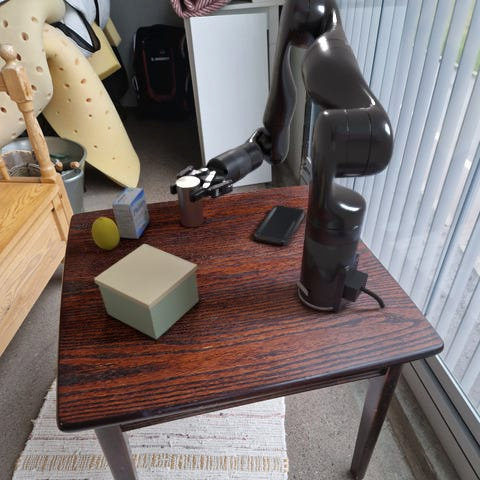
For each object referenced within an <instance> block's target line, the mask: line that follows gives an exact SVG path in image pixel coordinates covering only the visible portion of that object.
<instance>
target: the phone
mask: <svg viewBox="0 0 480 480" xmlns="http://www.w3.org/2000/svg"><path fill="white" fill-rule="evenodd" d="M304 217H305V210H304V209H302V208H297V207H294V206H293V207H292V206H287V205H283V204H275V205H273V206H272V208H271V209H270V210H269V212H268V214H267V215H266V216H265V217H264V219H263V220H262V222H261V223H260V225H259V226H258V227H257V228H256V230H255V231H254V233H253V239H254V240H255V241H257V242H262V243H266V244H270V245H275V246H281V247H284V246H285V247H286V246H287V245H288V244H289V242H290V240H291V238H292V237H293V235H295V233H296V231H297V229H298V227H299V225H300V224H301V222H302V220H303V218H304Z"/></svg>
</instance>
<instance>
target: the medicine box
mask: <svg viewBox="0 0 480 480" xmlns="http://www.w3.org/2000/svg"><path fill="white" fill-rule="evenodd" d="M111 206H112V210H113V214H114V218H115V222H116V226H117V228H118V230H119V235H120V238H123V239H134V240H135V239H137V240H139V238H140V237H141V235H142V234H143V232H144V231H145V229H146V228H147V227H148V225H149V224H150V221H151V220H150V214H149V209H148V205H147V199H146V194H145V190H144V188H142V187H133V186H132V187H131V186H130V187H126V188H125V189H124V190H123V191H122V192H121V193H120V194H119V195H118V197H116V199H115V200H114V201H113V202H112V203H111Z"/></svg>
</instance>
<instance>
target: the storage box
mask: <svg viewBox="0 0 480 480" xmlns="http://www.w3.org/2000/svg"><path fill="white" fill-rule="evenodd" d="M197 271H198V265H197V263H193V262H191V261H190V260H189V261H188V260H186V259H183V258H181V257H179V256H176V255H174V254H171V253H169V252H167V251H164V250H162V249H159V248H156V247H154V246H151V245H149V244H147V243H143V244H141V245H140V246H139V247H137V248H135V249H134V250H133V251H131V252H129V254H127V255H126V256H123V258H121V259H120V260H118V261H117V262H116V263H114V264H113V265H111V266H110V267H108V268H107V269H105V270H104V271H102V272H101V273H100V274H98V275H97V276H95V277H94V278H93V281H94V284H96V285H98V288H99V291H100V294H101V297H102V301H103V303H104V306H105V310H106V314H107V315H109V316H111V317H112V318H114V319H117V320H118V321H120V322H122V323H124V324H126V325H128V326H129V327H131V328H134V329H135V330H138V332H141V333H143V334H145V335H146V336H149V337H151V338H152V339H154V340H158V339H159V338H160V337H161V336H162V335H163V334H164V333H166V332H167V331H168V330H169V329H170V328H171V327H173V325H174V324H175V323H176V322H178V321H179V320H180V319H181V318H182V317H183V316H184V315H185V314H186V313H187V312H189V311H190V310H191V309H192V308H193V307H194V306H195V305H197V303H199V300H200V299H199V291H198V282H197V273H196V272H197Z"/></svg>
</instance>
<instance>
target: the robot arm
mask: <svg viewBox="0 0 480 480" xmlns="http://www.w3.org/2000/svg"><path fill="white" fill-rule="evenodd" d="M342 21H343V20H342V15H341V12H340V8H339V4H338V3H337V1H336V0H284V2H283V5H282V9H281V13H280V18H279V24H278V29H277V37H276V42H275V50H274V56H273V62H272V71H271V80H270V85H269V86H270V87H269V91H268V96H267V100H266V104H265V106H264V108H265V109H264V111H263V116H262V125H263V126H261V127H257V128H256V129H255V130H254V131H253V133H252V134H251V135H250V136H249V137H248V139H246V141H245V142H244V143H242V144H240V145H238V146H236V147H234V148H229V149H227V150H225V151H223V152H222V153H220V154H218V155H216V156H214V157H212V158H210V159H209V160H207V161H208V162H207V163H206V164H205V166H204V167H202V168H199V169H197V170H196V169H194V166H193V165H188V166H187V167H186V168H184V169H182V170H181V171H180V172H179V173H176V181H177V180H178V179H180V178H182V177H188V176H191V177H196V178H198V179H199V180H200V186H201V187H200V188H198V189H196V190H194V191H192V192H191V193H190V194H189V198H190V202H192V203H194V202H196V201H198V200H200V199H202V200H203V199H204V198H205V199H207V198H209V197H210V198H211V199H212V200H215V199H218V198H220V197H223V196H225V195H228V194H230V193H232V192H233V191H234V184H237V183H238V182H239V181H240V180H241V181H242V180H243V179H244V178H245V177H247V176H248V175H249V174H252V173H253V172H254V171H256V170H258V169H259V168H260V167H262V165H263V163H264V162H265V163H267V164H268V165H270V166H273V167H276V166H279V165H281V164H282V163H283V162H284V161H285V159H286V158H287V156H288V153H289V150H290V132H291V127H290V126H291V122H292V120H293V118H294V117H293V116H294V113H295V111H296V107H297V103H298V90H297V86H296V83H295V80H294V76H293V73H292V68H291V63H290V55H291V54H290V53H291V48H292V47H293V48H298V49H303V50H305V51H304V54H303V56H302V60H301V63H300V64H301V65H300V73H301V78H302V82H303V86H304V90H305V92H306V95H307V97H308V99H309V100H310V102H311V103H312V104H313V105H314V106H315V107H316V108H317V109H319V110H320V112H319V113H318V114H317V115H316V118H315V120H314V123H313V127H312V134H311V147H310V168H309V170H310V171H309V182H308V184H309V185H308V194H307V207H306V216H305V217H306V219H305V227H304V237H303V246H302V256H301V263H300V273H299V279H296V285H297V286H298V289H297V296H298V297H297V298H298V299H299V301H300V302H301V303H302V304H303V305H304V306H305V307H307V308H309V309H311V310H314V311H318V312H334V313H336V314H337V313H340V311H341V310H342V309H343V307H344V306H345V305H346V304H347V302H348V301H349V302H351V303H355V302H357V300H358V298H359V297H360V295H362V293H364V294H365V295H368V296H370V298H372V299H374V300H375V301H376V302H377V303H378V306H379V308H380V309H385V308H386V305H385V302H384V300H383V299H382V298H381V297H380V296H379V295H378V294H377V293H376V292H373V291H372V290H370V289H368V288H367V287H366V286H367V282H368V278H369V273H367V272H364V271H360V270H358V266H359V263H360V257H361V255H360V253H358V251H359V250H358V249H359V245H360V239H361V234H362V232H363V231H362V230H363V226H364V222H365V217H366V212H367V201H366V199H365V198H364V197H363V195H362V194H360V192H358V191H357V190H354V189H352V188H350V187H347V186H344V185H341V184H338V183H337V182H335V179H354V178H356V179H357V178H368V177H373V176H377V175H379V174H382V173H383V172H384V171H385V170H386V169H387V167H388V166H389V165H390V163H391V161H392V158H393V154H394V147H395V138H394V131H393V126H392V122H391V120H390V117H389V114H388V112H387V111H386V109H385V107H384V106H383V104H382V103H381V102H380V100H379V99H378V98H377V96H376V95H375V94H374V92H373V91H372V89H371V88H370V86H369V85H368V82H367V81H366V79H365V77H364V75H363V72H362V71H361V68H360V66H359V62H358V60H357V57H356V55H355V53H354V51H353V49H352V47H351V45H350V43H349V40H348V38H347V36H346V33H345V30H344V26H343V22H342ZM176 181H175V182H173V183H171V184H170V185H169V191H170V194H171V195H173V196H175V195H177V188H176ZM217 191H218V192H217Z"/></svg>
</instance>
